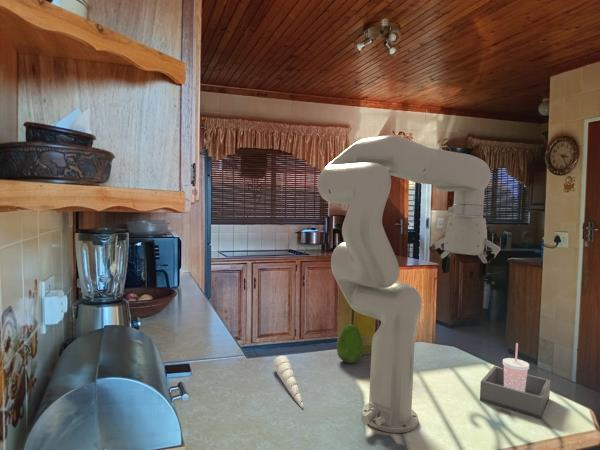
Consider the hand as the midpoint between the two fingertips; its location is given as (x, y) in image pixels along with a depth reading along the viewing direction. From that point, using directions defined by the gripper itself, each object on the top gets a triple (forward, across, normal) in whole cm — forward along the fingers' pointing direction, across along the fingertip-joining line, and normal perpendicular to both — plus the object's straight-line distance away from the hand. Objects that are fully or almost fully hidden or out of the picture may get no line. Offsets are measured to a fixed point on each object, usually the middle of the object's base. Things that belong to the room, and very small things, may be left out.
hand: (463, 275), depth 111 cm
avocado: (+31, -31, -6) cm, 44 cm away
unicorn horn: (+32, -32, -32) cm, 56 cm away
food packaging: (+31, -36, +5) cm, 48 cm away
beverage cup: (+30, +14, +3) cm, 33 cm away
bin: (+31, +14, +4) cm, 34 cm away
